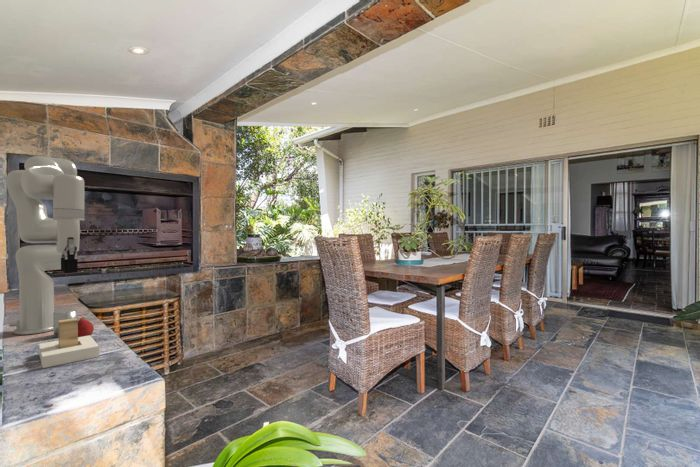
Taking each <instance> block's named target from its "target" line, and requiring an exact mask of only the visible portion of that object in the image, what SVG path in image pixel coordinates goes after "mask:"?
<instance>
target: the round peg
mask: <svg viewBox="0 0 700 467" xmlns="http://www.w3.org/2000/svg"><path fill="white" fill-rule="evenodd" d="M74 318H76V319H77V320H78V321H79V319H78V318H79V317H78V309H67V310H66V309H65V310H59V311H54V313H53V322H54V330H53V337H54V338H59V321H60V320H67V319H74Z"/></svg>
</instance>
